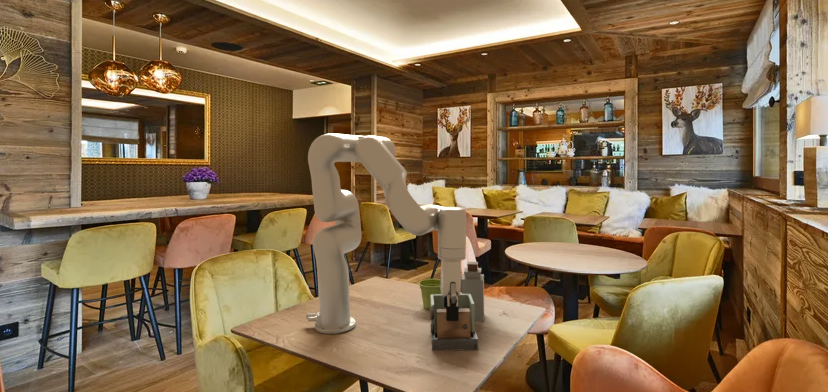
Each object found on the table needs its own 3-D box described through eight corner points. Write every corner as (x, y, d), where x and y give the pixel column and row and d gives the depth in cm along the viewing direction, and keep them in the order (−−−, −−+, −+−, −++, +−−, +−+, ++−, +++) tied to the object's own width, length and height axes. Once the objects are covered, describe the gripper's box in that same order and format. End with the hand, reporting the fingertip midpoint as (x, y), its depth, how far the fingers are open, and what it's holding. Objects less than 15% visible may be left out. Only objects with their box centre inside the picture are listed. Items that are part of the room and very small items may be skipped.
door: (438, 349, 112) (437, 313, 112) (437, 344, 116) (436, 309, 115) (471, 348, 112) (470, 312, 112) (469, 343, 116) (469, 308, 115)
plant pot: (450, 304, 147) (449, 280, 146) (437, 313, 139) (436, 288, 139) (427, 300, 152) (427, 277, 151) (413, 308, 144) (413, 284, 144)
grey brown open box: (431, 350, 112) (430, 310, 111) (430, 341, 117) (429, 303, 116) (478, 349, 111) (477, 309, 111) (475, 340, 117) (475, 302, 116)
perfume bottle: (483, 322, 131) (482, 265, 129) (462, 320, 132) (461, 265, 131) (484, 314, 137) (483, 260, 136) (463, 313, 139) (463, 260, 137)
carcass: (432, 342, 116) (431, 304, 115) (431, 330, 125) (430, 294, 124) (475, 342, 116) (474, 303, 115) (470, 329, 125) (470, 293, 124)
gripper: (436, 245, 121) (435, 302, 123) (439, 260, 104) (438, 326, 105) (462, 245, 121) (461, 302, 122) (469, 260, 104) (468, 326, 105)
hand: (450, 313), depth 114 cm, fingers open, 9 cm apart
